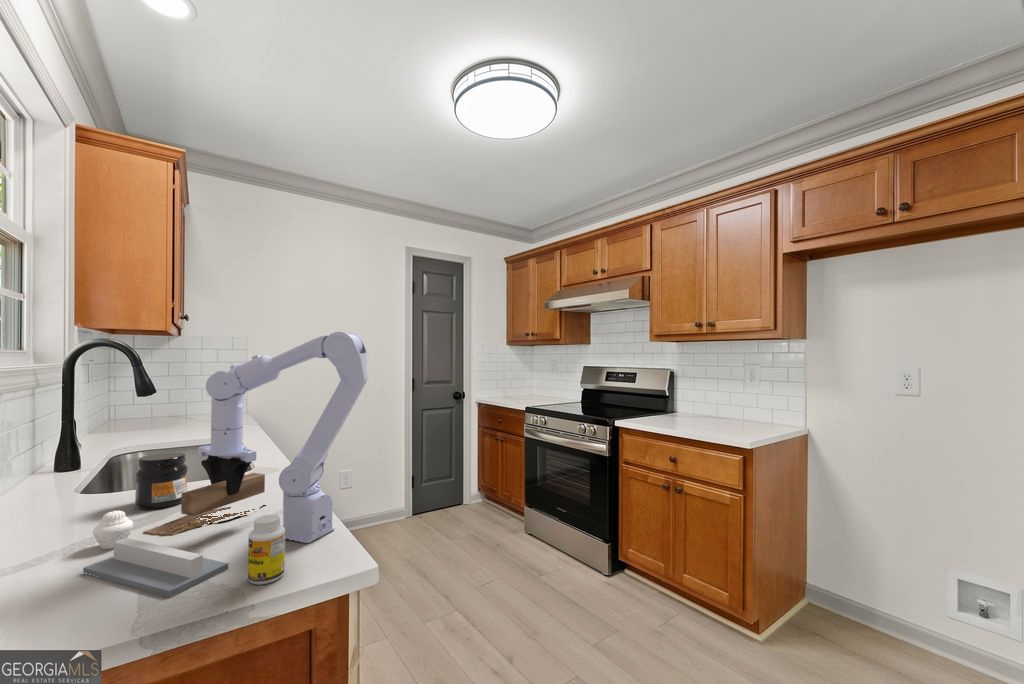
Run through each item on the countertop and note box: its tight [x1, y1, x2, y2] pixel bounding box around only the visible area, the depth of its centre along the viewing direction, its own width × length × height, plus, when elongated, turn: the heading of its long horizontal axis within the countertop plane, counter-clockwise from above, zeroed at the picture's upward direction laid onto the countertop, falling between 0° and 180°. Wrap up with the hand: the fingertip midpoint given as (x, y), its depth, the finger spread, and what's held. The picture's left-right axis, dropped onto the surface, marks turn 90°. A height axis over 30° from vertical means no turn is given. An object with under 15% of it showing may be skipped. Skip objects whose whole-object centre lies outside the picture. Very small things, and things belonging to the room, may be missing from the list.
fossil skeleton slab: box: [142, 506, 255, 537], centre depth 107 cm, size 26×11×1 cm, turn 138°
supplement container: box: [134, 451, 189, 511], centre depth 116 cm, size 10×10×12 cm
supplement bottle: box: [247, 514, 286, 586], centre depth 79 cm, size 6×6×10 cm
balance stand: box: [82, 537, 229, 598], centre depth 81 cm, size 22×10×4 cm, turn 70°
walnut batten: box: [180, 472, 266, 516], centre depth 97 cm, size 4×16×4 cm, turn 160°
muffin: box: [92, 510, 134, 550], centre depth 91 cm, size 6×6×7 cm
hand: (226, 492), depth 97 cm, fingers closed on walnut batten, 3 cm apart
